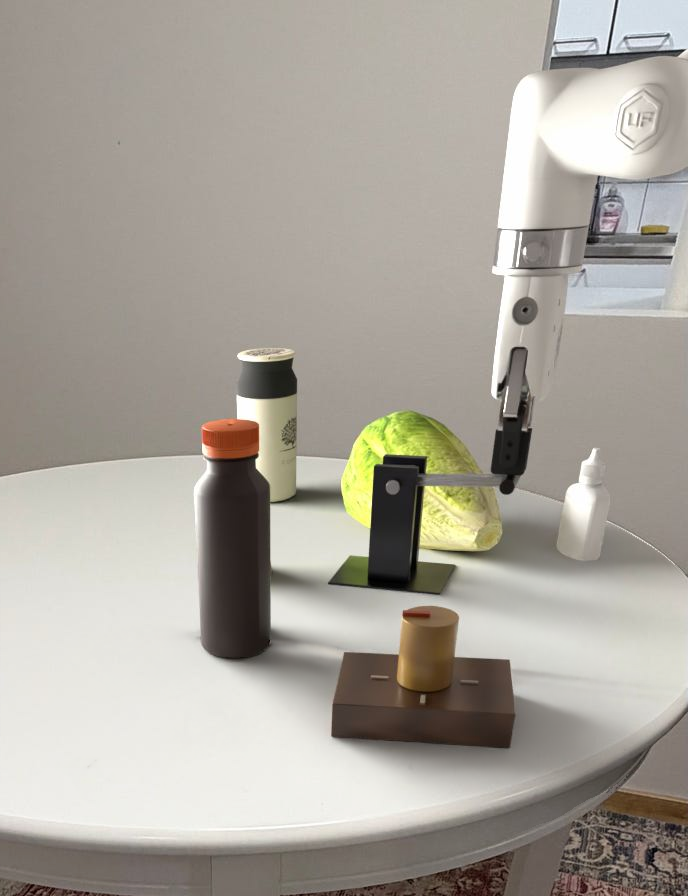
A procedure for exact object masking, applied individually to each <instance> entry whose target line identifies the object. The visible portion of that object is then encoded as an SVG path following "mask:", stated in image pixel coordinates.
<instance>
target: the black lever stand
mask: <svg viewBox="0 0 688 896" xmlns="http://www.w3.org/2000/svg"><path fill="white" fill-rule="evenodd" d="M404 465H415V466H404ZM426 465H427V456H411V455H391V454H385V455H384V456H383V464H376V465H375V466H374V469H373V487H372V505H371V523H370V528H369V540H368V556H361V555H349V556H348V557H347V558H346V559H345V561H344V562H343V563H342V565H341V566H340V567H339V568H338V570H336V572H335V573H334V574H333V575H332V577H331V578H330V579H329V581H328V582H327V585H331V586H341V587H352V588H362V589H374V590H384V591H393V592H403V593H414V594H424V595H433V596H441V594H442V592H443V590H444V589H445V587H446V585H447V583H448V581H449V579H450V577H451V576H452V574H453V572H454V570H455V568H456V564H454V563H442V562H433V561H432V562H430V561H421V560H420V561H419V554H420V547H419V545H420V533H421V522H422V511H423V499H424V488H425V486H417V485H418V473H426Z"/></svg>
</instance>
